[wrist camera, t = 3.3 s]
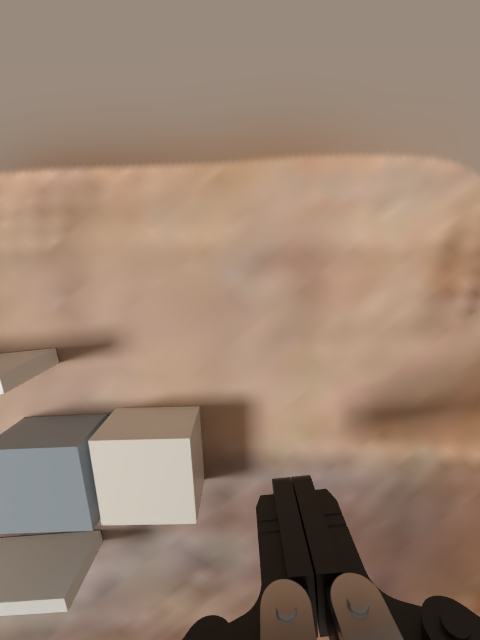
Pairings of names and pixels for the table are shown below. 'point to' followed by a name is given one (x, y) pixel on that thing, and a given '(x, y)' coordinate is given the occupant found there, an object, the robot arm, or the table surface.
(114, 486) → the tile white
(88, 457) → the grey-blue square block
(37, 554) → the tray
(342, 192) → the table surface
